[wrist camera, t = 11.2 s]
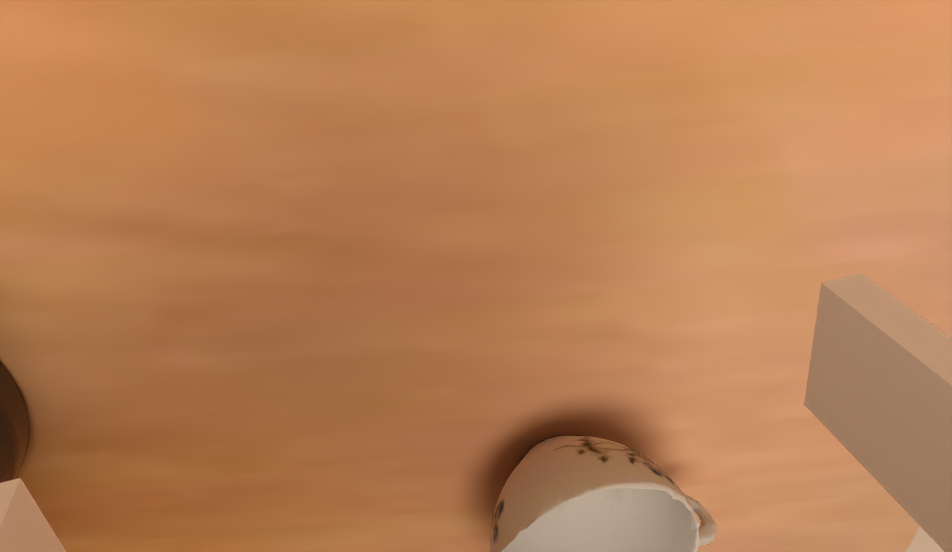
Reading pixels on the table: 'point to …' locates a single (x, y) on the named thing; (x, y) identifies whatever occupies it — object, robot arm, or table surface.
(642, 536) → the teacup
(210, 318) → the table surface
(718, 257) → the table surface
